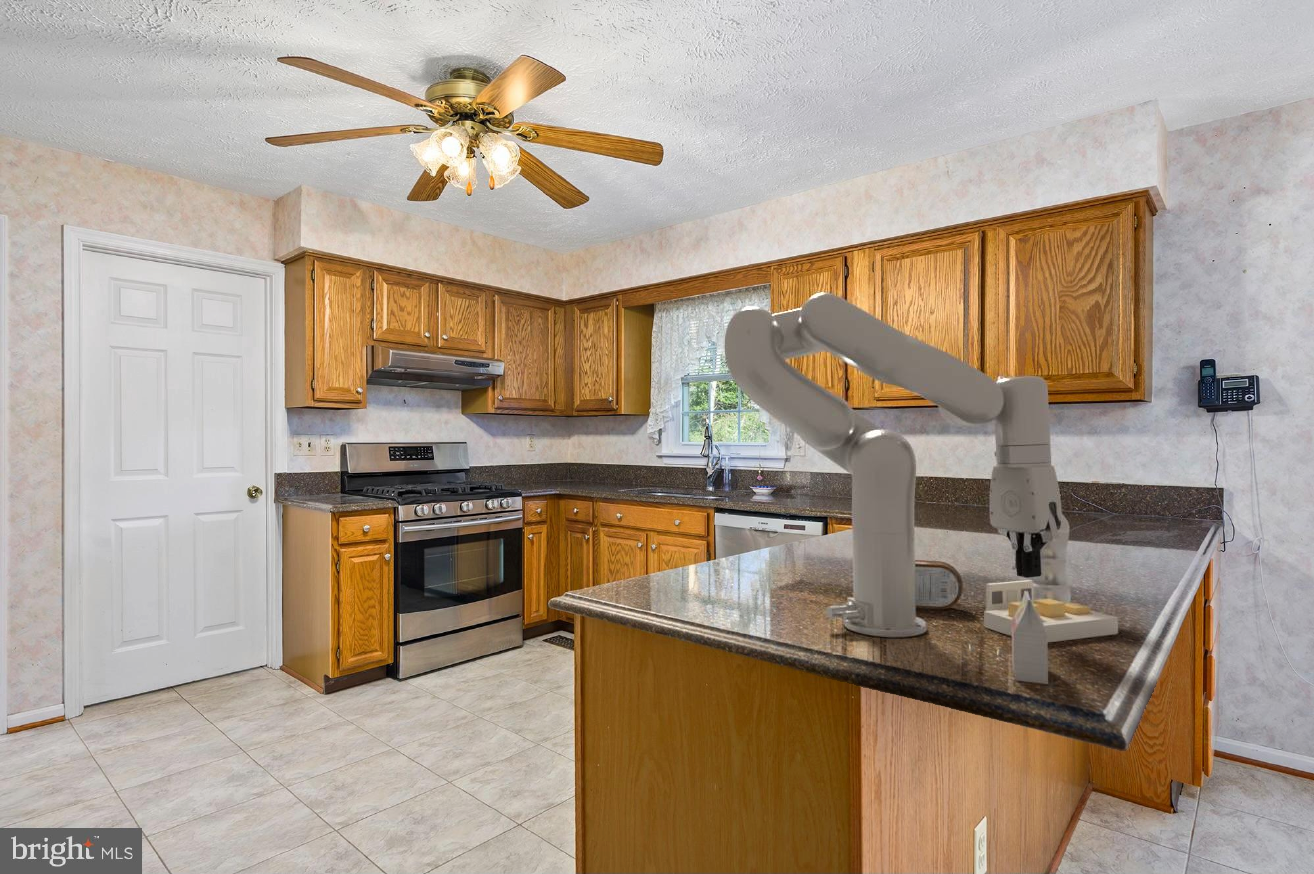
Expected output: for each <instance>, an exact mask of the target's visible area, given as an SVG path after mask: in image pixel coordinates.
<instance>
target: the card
mask: <svg viewBox="0 0 1314 874" xmlns="http://www.w3.org/2000/svg"><path fill="white" fill-rule="evenodd" d="M1024 591H1026V592H1027V591H1028V594H1029V597H1030V599H1031V602H1032V604H1033V581H1031V579H1026V580H1025V579H1024V580H1015V581H1004V582H1003V581H1002V582H1001V581H1000V582H989V583H985V611H993V610H1002V609H1008V603H1011V602H1021V601H1022V598H1023V595H1024Z"/></svg>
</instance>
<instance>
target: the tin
mask: <svg viewBox="0 0 1314 874" xmlns="http://www.w3.org/2000/svg"><path fill="white" fill-rule="evenodd" d="M963 584H964V583H963V579H962V576H961V574H960V572H959V571H958V570H957V569H956V568H955V567H954V566H952V565H951V564H949V563H947V562H945V561H941V560H924V559H915V585H916V609H925V610H926V609H927V610H938V611H940V610H942V611H943V610H946V609H947V610H948V609H950V608H952V607H954V606H955V605H956V604H957V603H958V602H959V601H960V599H961V598H962V594H963V590H964V587H963V586H964V585H963Z"/></svg>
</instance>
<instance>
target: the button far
mask: <svg viewBox="0 0 1314 874" xmlns="http://www.w3.org/2000/svg"><path fill="white" fill-rule="evenodd" d="M1090 610H1091V606H1089V605H1085V604H1080V603H1076V602H1070V603H1066V604H1065V613H1069V614H1073V615H1082V614H1090Z"/></svg>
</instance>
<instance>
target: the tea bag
mask: <svg viewBox="0 0 1314 874" xmlns="http://www.w3.org/2000/svg"><path fill="white" fill-rule="evenodd" d="M1048 647H1049V646H1048V642H1047V633H1046V630H1045V627H1044V624H1043V622H1042V620H1041V618H1040V617H1039V615H1038V613H1037V611H1036V609H1035V607H1034V606H1033V604H1032V602H1031V599H1030V597H1029V594H1028V591H1027V592H1026V591H1024V595H1023V598H1022V601H1021V603H1020V605H1019V607H1018V609H1017V611H1016V613H1015V614H1014V616H1013V618H1012V636H1011V665H1012V672H1013V679H1014V681H1019V682H1027V683H1036V684H1045V685H1048V684H1049V660H1048V659H1049V656H1048V653H1049V652H1048V651H1049V649H1048Z"/></svg>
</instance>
